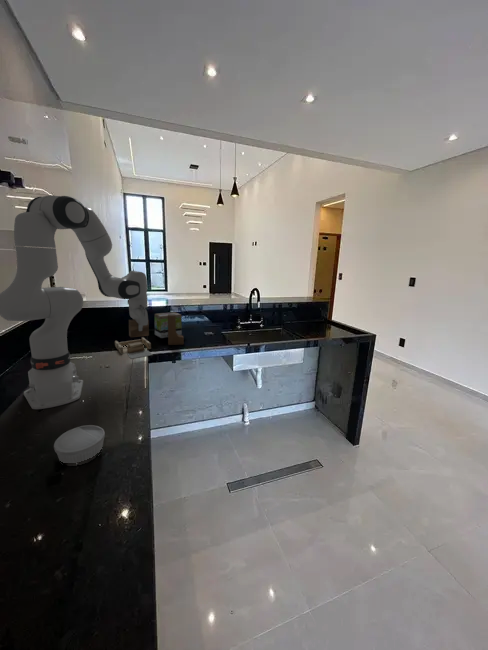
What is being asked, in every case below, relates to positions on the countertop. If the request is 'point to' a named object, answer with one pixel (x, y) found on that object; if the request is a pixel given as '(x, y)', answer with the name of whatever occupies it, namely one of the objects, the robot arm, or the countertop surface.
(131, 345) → the offcut upper
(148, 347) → the tray
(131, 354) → the mat
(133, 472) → the countertop surface
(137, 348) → the offcut lower
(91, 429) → the ramekin
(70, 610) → the countertop surface
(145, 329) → the dark brown wood block
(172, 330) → the wooden block
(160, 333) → the tea box
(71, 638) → the countertop surface
